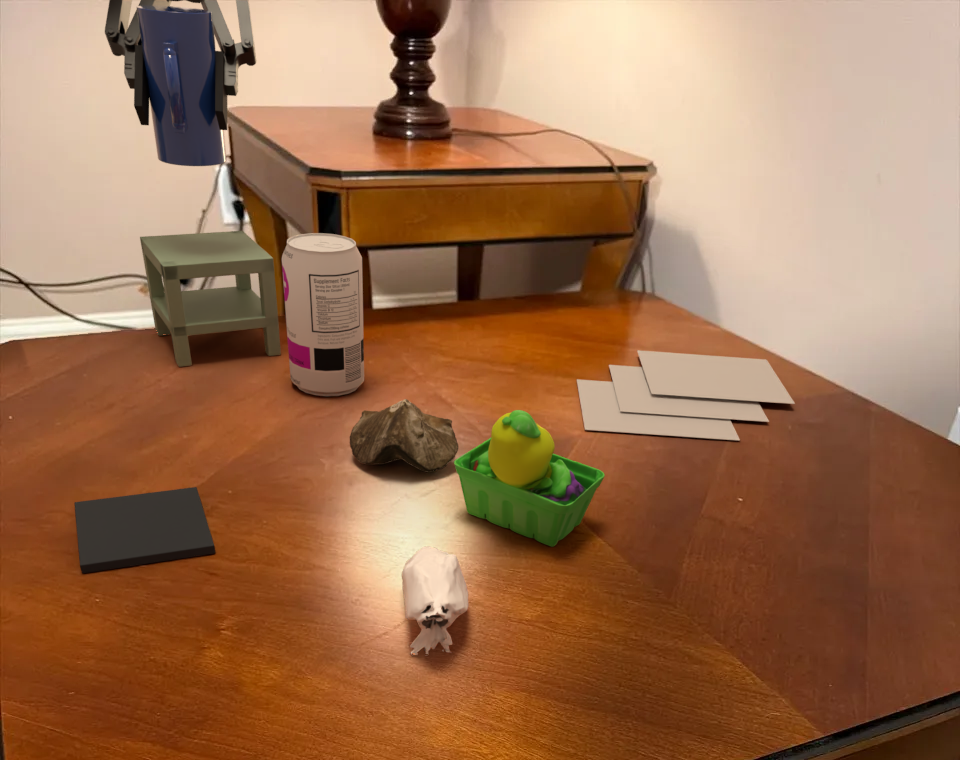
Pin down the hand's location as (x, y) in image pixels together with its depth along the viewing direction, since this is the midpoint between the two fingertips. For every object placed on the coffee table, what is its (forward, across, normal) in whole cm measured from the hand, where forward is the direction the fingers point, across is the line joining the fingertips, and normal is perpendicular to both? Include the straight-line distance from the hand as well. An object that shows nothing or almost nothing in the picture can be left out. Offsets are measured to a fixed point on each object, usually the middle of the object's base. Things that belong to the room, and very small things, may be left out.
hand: (181, 118), depth 87 cm
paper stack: (+23, -55, -10) cm, 61 cm away
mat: (+45, 0, +11) cm, 46 cm away
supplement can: (+23, -14, -12) cm, 29 cm away
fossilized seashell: (+36, -21, +2) cm, 42 cm away
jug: (+2, 0, -5) cm, 5 cm away
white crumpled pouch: (+53, -22, +19) cm, 61 cm away
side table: (+14, 0, -20) cm, 25 cm away
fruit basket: (+44, -31, +10) cm, 55 cm away
